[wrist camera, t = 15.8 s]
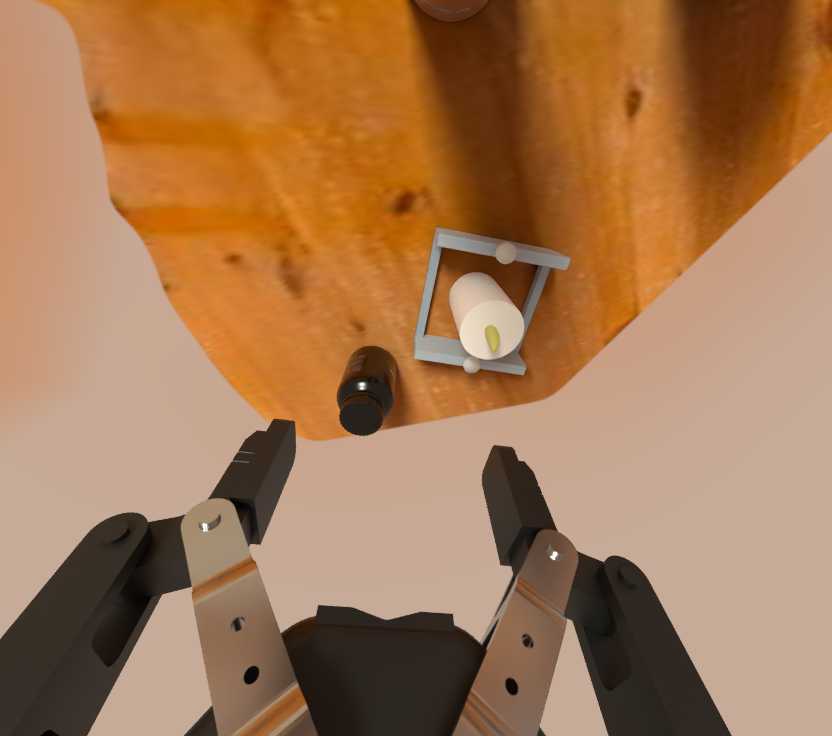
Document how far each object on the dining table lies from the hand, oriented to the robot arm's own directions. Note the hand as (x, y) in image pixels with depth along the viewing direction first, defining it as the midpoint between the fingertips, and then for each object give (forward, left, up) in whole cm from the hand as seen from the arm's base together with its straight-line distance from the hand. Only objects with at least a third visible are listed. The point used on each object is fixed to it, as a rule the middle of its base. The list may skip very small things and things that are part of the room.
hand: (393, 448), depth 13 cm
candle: (+2, +9, -30) cm, 32 cm away
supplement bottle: (+14, -2, -30) cm, 33 cm away
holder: (+2, +10, -30) cm, 32 cm away
